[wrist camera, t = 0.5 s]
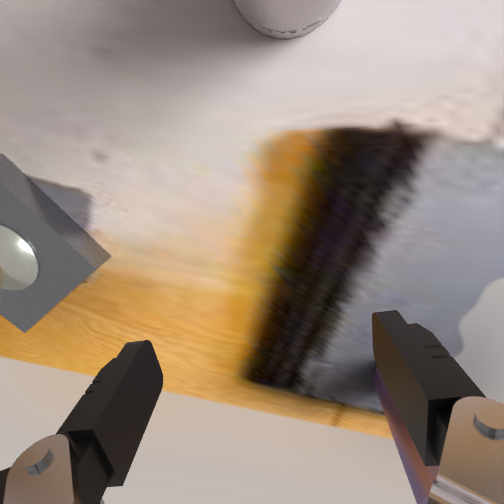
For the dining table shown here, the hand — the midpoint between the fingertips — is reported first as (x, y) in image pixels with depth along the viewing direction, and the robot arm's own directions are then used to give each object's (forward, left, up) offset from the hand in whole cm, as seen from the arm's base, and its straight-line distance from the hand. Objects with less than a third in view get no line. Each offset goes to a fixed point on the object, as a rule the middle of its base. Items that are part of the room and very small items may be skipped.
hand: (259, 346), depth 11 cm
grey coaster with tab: (+2, -29, -20) cm, 35 cm away
